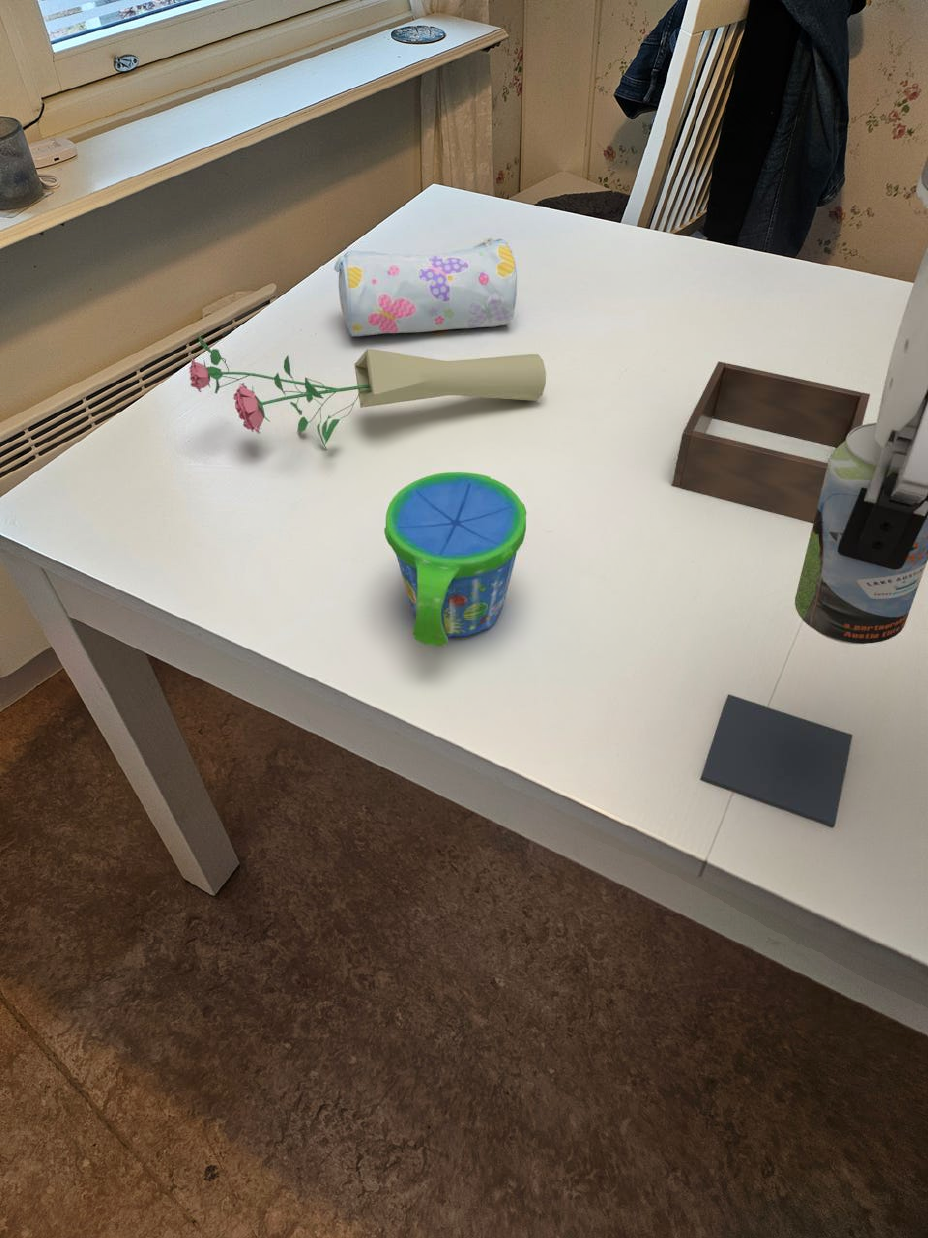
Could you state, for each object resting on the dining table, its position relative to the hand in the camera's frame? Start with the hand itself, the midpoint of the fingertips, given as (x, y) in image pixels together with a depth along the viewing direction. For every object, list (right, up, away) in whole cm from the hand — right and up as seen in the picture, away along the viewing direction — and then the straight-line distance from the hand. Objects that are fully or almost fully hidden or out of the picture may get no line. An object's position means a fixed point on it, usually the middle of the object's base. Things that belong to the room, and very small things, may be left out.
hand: (878, 517), depth 47 cm
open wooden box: (+7, +10, +38) cm, 40 cm away
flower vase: (-31, +14, +43) cm, 55 cm away
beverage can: (0, -5, +5) cm, 7 cm away
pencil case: (-26, +29, +58) cm, 70 cm away
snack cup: (-23, -5, +25) cm, 35 cm away
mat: (0, -15, +15) cm, 21 cm away
